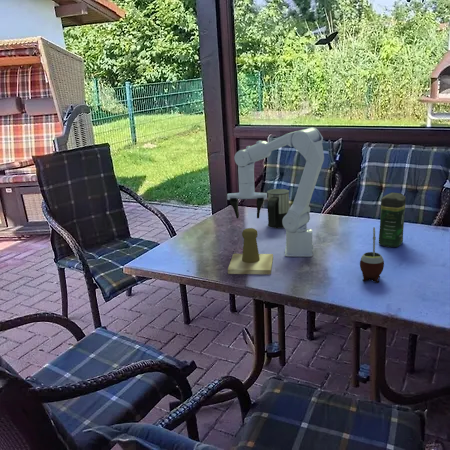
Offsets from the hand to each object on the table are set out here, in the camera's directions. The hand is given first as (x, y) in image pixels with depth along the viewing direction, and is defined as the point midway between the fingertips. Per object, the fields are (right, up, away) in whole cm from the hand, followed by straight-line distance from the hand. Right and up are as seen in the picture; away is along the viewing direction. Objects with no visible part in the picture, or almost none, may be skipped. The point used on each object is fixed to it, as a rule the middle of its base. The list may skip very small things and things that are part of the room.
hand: (247, 217), depth 183 cm
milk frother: (+17, -4, +20) cm, 26 cm away
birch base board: (0, -16, -17) cm, 24 cm away
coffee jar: (+52, -10, -4) cm, 53 cm away
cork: (0, -15, -16) cm, 22 cm away
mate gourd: (+37, -19, -31) cm, 52 cm away
